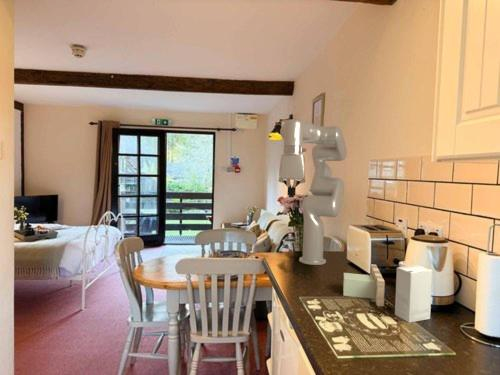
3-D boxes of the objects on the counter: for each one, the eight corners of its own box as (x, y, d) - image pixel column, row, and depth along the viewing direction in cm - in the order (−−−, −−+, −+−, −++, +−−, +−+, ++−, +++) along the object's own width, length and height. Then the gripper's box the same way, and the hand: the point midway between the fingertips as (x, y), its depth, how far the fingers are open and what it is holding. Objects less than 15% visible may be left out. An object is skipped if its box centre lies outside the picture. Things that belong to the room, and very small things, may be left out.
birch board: (369, 285, 134) (370, 264, 133) (375, 285, 133) (376, 264, 133) (376, 305, 112) (378, 281, 112) (383, 306, 112) (384, 281, 112)
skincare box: (415, 312, 108) (417, 264, 107) (431, 320, 102) (433, 269, 102) (393, 315, 105) (395, 266, 104) (408, 323, 99) (411, 271, 99)
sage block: (343, 288, 129) (343, 272, 129) (371, 291, 127) (372, 275, 126) (343, 296, 121) (344, 278, 121) (374, 299, 119) (374, 281, 119)
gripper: (312, 152, 142) (310, 197, 142) (275, 151, 145) (274, 196, 146) (311, 150, 134) (309, 198, 135) (272, 150, 138) (271, 197, 139)
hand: (291, 197), depth 140 cm, fingers closed
